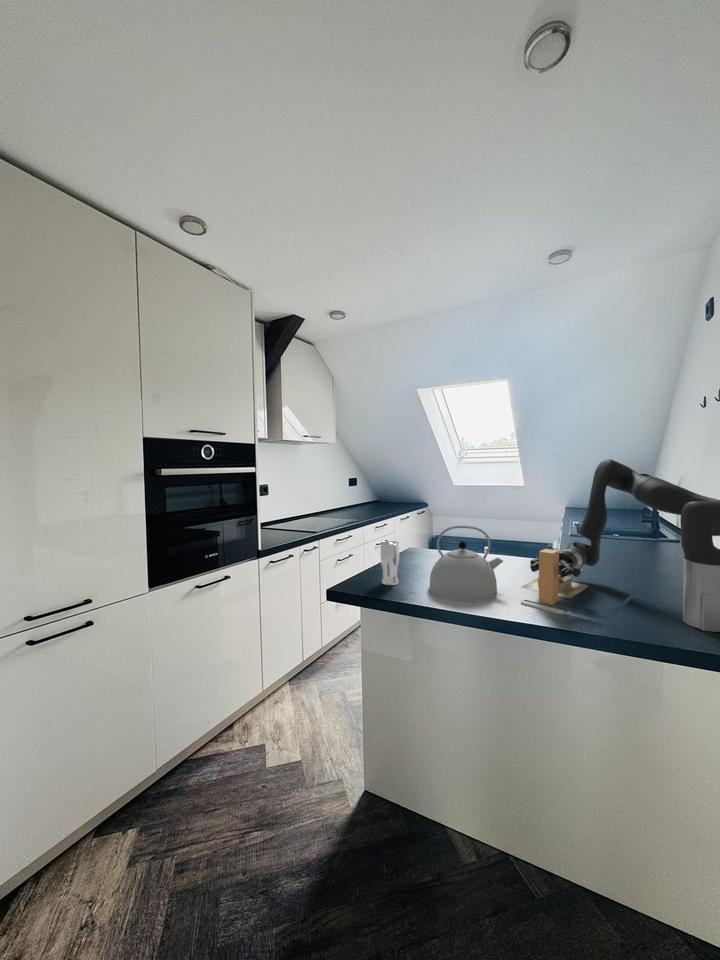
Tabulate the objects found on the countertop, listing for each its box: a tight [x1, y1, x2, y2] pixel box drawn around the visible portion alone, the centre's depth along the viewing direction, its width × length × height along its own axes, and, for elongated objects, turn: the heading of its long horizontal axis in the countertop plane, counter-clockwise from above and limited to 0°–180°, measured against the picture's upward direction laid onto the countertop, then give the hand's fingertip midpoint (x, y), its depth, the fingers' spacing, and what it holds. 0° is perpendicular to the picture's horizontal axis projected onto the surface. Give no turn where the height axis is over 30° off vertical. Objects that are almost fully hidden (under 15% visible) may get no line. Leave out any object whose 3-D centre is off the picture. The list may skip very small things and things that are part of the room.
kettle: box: [429, 525, 504, 602], centre depth 133 cm, size 25×23×23 cm
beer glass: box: [379, 540, 400, 586], centre depth 142 cm, size 7×7×15 cm
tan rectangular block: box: [538, 548, 560, 606], centre depth 119 cm, size 4×5×16 cm
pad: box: [520, 599, 568, 616], centre depth 119 cm, size 12×12×1 cm
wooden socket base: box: [520, 575, 590, 599], centre depth 133 cm, size 16×18×5 cm
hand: (546, 571), depth 117 cm, fingers open, 8 cm apart
